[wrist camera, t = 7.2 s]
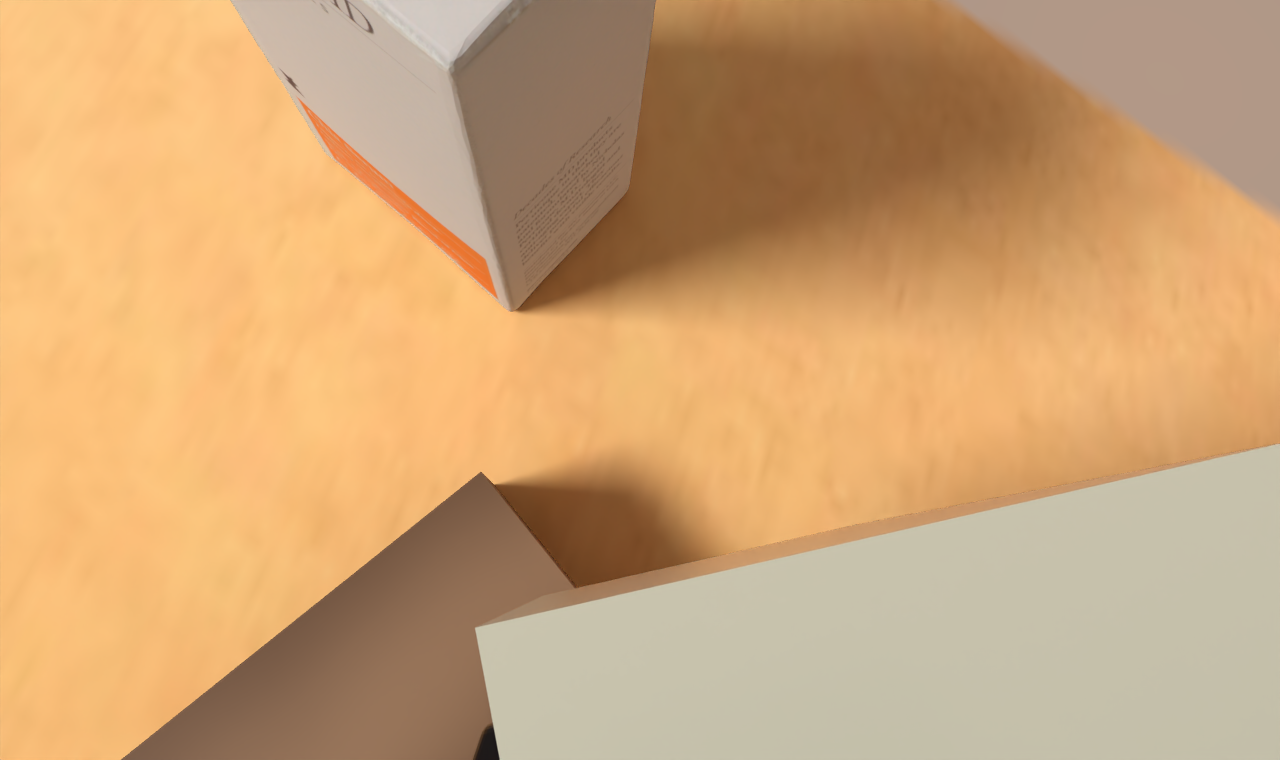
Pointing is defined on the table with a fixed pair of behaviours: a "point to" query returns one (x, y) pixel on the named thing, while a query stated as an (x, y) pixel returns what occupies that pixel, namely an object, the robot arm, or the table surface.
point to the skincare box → (472, 115)
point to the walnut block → (379, 651)
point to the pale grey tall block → (930, 636)
